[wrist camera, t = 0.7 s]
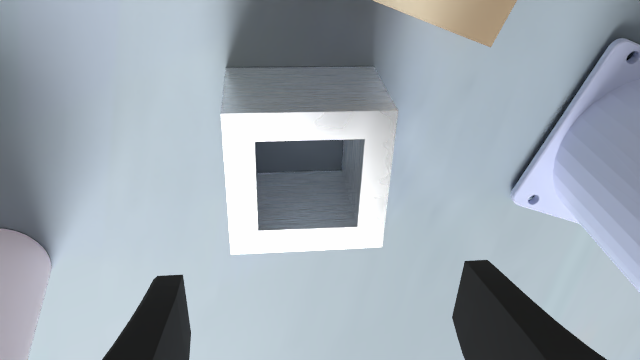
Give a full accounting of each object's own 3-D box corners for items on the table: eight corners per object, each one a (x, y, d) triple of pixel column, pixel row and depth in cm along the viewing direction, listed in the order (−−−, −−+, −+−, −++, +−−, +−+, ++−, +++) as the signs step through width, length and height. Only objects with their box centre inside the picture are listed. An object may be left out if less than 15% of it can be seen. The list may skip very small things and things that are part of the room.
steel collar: (373, 66, 21) (398, 110, 17) (363, 189, 23) (382, 247, 20) (225, 67, 20) (220, 113, 17) (233, 193, 23) (230, 254, 20)
